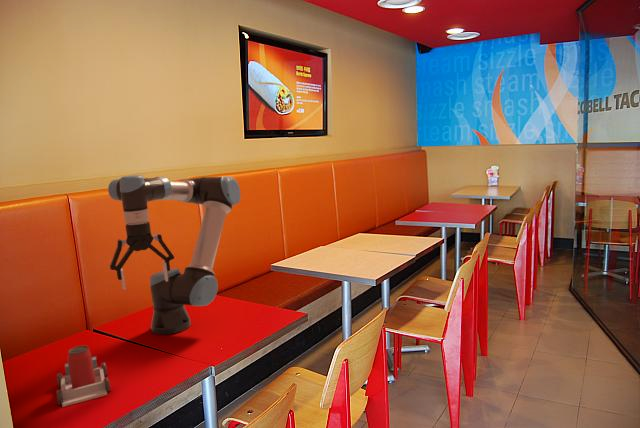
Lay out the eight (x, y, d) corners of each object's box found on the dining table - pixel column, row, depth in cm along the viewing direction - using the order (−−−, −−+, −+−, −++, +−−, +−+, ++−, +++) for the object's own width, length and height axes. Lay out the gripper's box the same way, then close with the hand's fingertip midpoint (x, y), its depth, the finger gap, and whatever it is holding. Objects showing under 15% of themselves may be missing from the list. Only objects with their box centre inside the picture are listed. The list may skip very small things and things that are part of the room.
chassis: (58, 383, 157) (56, 366, 156) (106, 371, 164) (104, 354, 163) (58, 408, 142) (55, 389, 141) (110, 393, 149) (108, 375, 148)
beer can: (77, 381, 156) (71, 345, 154) (98, 379, 156) (93, 343, 154) (68, 392, 149) (62, 355, 147) (90, 390, 150) (85, 353, 148)
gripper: (96, 230, 154) (106, 295, 158) (178, 218, 165) (185, 279, 169) (95, 226, 161) (105, 289, 164) (173, 215, 172) (181, 274, 175)
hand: (145, 284), depth 167 cm, fingers open, 13 cm apart
